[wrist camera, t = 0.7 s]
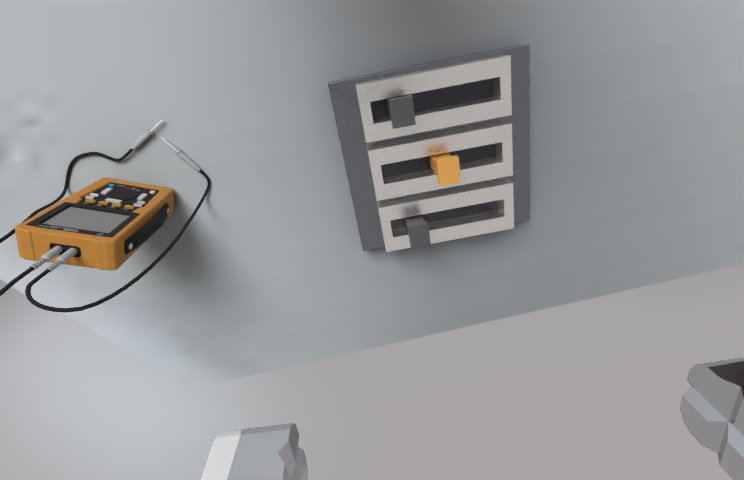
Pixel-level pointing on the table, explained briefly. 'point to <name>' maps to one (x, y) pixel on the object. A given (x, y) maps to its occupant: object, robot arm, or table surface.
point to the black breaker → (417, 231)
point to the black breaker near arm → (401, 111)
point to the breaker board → (438, 147)
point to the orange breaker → (446, 168)
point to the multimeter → (96, 226)
